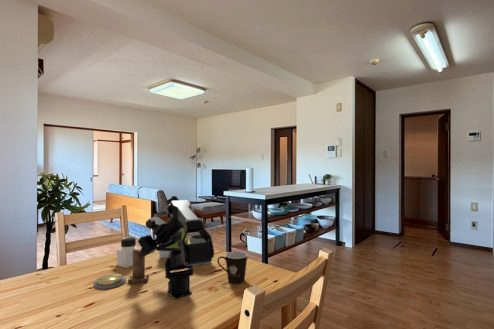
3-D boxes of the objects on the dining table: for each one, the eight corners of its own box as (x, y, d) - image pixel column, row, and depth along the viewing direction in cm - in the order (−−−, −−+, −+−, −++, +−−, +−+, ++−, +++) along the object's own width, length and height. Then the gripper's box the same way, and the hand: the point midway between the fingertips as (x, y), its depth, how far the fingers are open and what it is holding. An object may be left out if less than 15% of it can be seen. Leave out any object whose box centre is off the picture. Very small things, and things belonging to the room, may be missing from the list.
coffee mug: (251, 280, 109) (251, 254, 109) (236, 287, 103) (236, 260, 103) (231, 272, 117) (231, 248, 117) (215, 278, 111) (215, 253, 111)
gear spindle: (144, 275, 113) (145, 246, 113) (151, 281, 108) (152, 250, 108) (125, 280, 108) (125, 249, 108) (131, 286, 103) (132, 254, 103)
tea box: (170, 249, 150) (170, 221, 150) (188, 249, 149) (188, 222, 149) (158, 258, 135) (158, 227, 135) (178, 259, 134) (178, 228, 134)
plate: (120, 275, 114) (120, 273, 114) (129, 283, 105) (129, 281, 105) (90, 282, 106) (90, 280, 106) (97, 292, 98) (97, 289, 98)
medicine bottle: (140, 263, 127) (140, 237, 127) (125, 268, 121) (126, 241, 121) (130, 260, 131) (130, 235, 131) (116, 265, 125) (116, 238, 125)
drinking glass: (185, 262, 128) (185, 236, 129) (199, 256, 137) (199, 232, 137) (201, 267, 123) (202, 240, 123) (215, 260, 132) (216, 235, 132)
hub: (118, 274, 112) (118, 271, 112) (126, 281, 105) (126, 278, 105) (94, 280, 106) (94, 277, 106) (100, 288, 99) (100, 285, 99)
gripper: (175, 207, 114) (154, 232, 118) (142, 214, 97) (118, 242, 101) (191, 228, 111) (168, 252, 115) (160, 239, 94) (134, 267, 98)
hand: (148, 253), depth 107 cm, fingers open, 9 cm apart
